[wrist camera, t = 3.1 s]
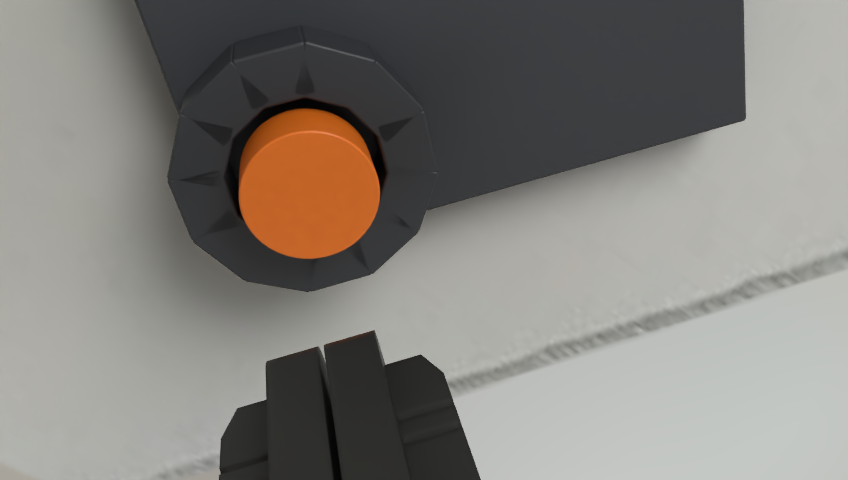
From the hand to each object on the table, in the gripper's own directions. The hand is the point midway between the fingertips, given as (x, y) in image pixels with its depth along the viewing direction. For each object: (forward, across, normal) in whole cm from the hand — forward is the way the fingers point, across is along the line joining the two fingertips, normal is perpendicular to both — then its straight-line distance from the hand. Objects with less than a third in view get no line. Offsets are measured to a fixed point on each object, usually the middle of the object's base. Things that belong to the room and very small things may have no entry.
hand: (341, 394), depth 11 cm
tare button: (+8, 0, 0) cm, 8 cm away
